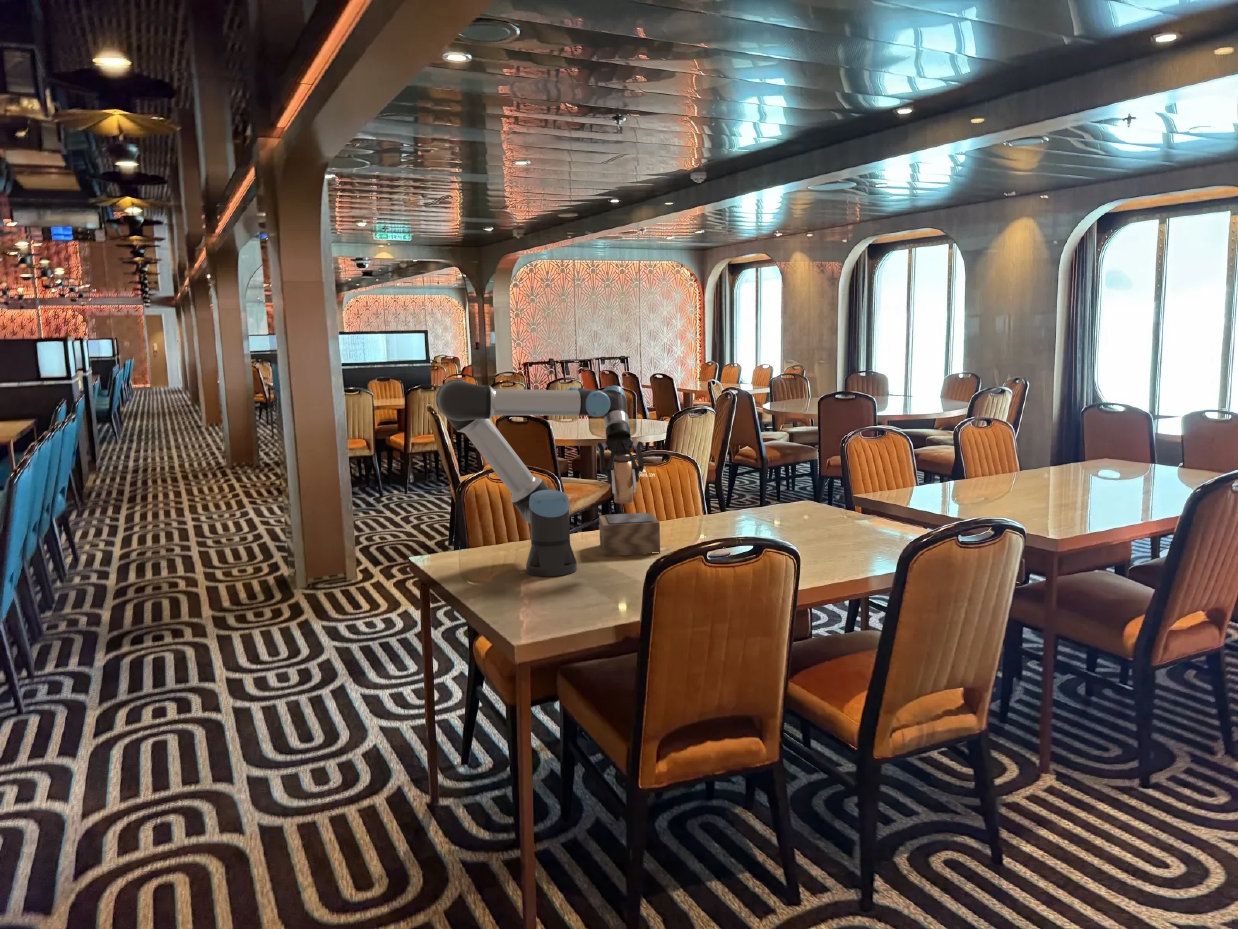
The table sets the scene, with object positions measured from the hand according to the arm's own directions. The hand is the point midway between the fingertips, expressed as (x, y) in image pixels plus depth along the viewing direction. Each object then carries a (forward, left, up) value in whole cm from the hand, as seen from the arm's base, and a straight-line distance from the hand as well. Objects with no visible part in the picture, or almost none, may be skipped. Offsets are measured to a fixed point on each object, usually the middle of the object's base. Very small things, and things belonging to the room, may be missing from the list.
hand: (624, 490), depth 253 cm
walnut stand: (+4, +28, -24) cm, 37 cm away
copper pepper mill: (0, +4, -4) cm, 6 cm away
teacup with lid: (+24, -16, -25) cm, 38 cm away
